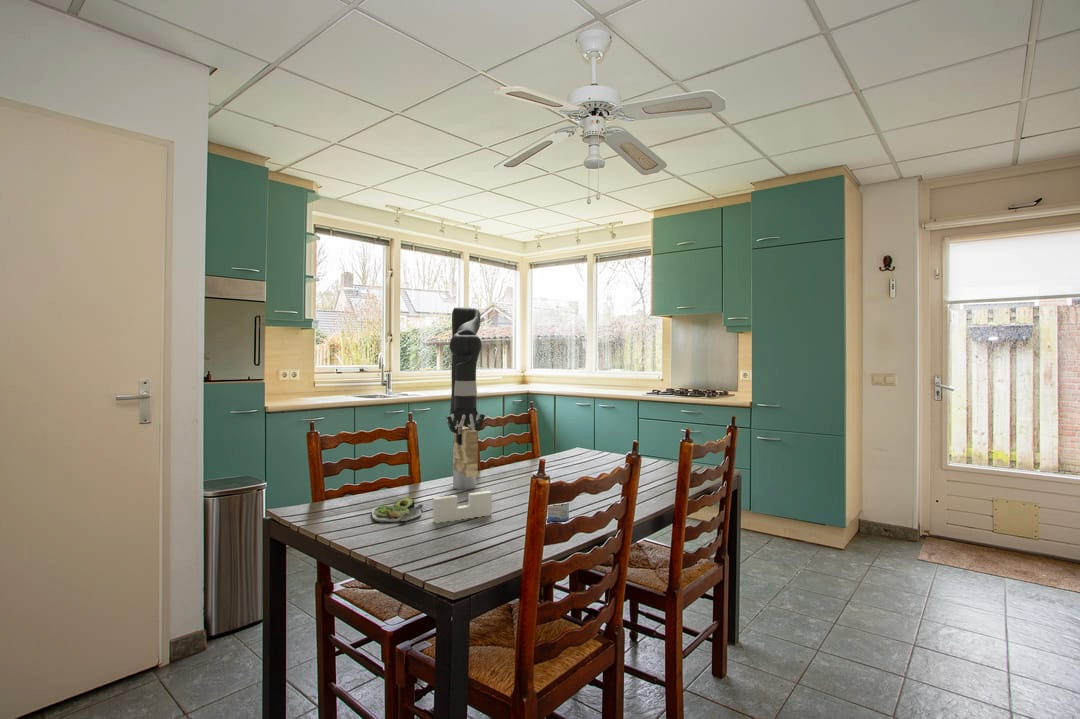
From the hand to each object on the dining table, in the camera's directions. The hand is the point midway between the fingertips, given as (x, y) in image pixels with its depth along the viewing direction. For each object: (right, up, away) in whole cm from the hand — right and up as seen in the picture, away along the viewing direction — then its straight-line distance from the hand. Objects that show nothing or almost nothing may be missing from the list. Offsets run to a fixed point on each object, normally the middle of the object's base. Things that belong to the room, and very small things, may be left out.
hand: (465, 444), depth 184 cm
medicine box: (+31, -26, 0) cm, 40 cm away
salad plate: (-24, -26, +4) cm, 35 cm away
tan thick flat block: (0, -10, 0) cm, 10 cm away
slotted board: (-1, -25, 0) cm, 25 cm away
